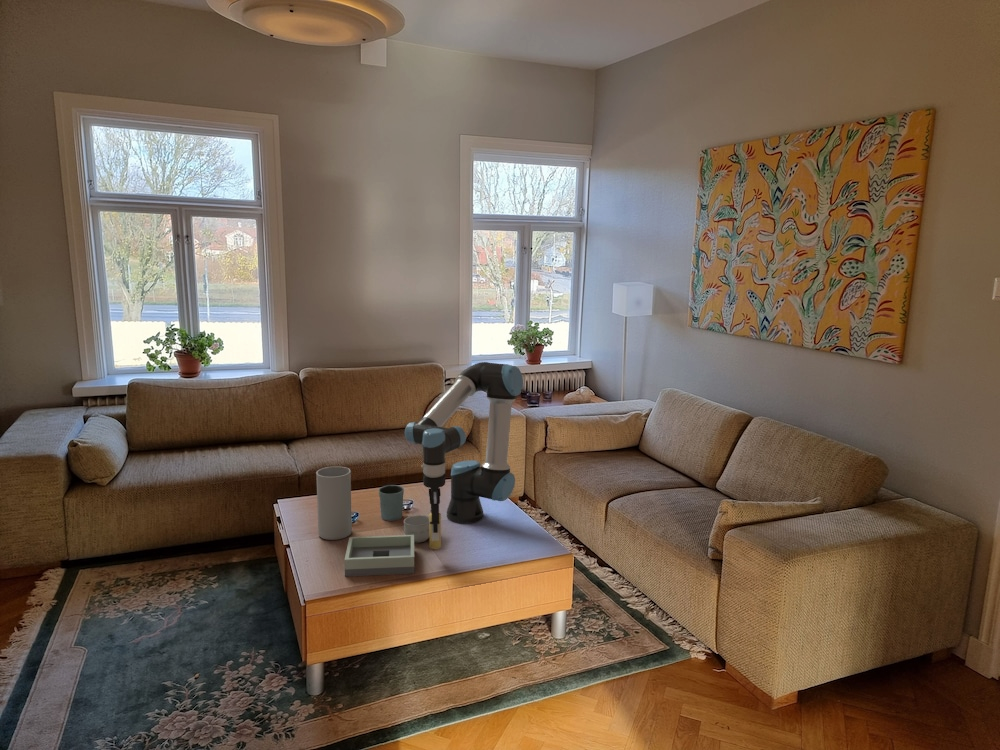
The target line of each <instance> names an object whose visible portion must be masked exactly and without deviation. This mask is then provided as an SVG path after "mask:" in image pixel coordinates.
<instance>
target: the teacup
mask: <svg viewBox="0 0 1000 750" xmlns="http://www.w3.org/2000/svg"><path fill="white" fill-rule="evenodd" d="M403 530H404V535H414V543H422V542H427V540H428V539H429V515H423V514H422V515H421V514H416V515H411V516H408V517H406V518H404V520H403Z"/></svg>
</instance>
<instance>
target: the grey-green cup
mask: <svg viewBox="0 0 1000 750" xmlns="http://www.w3.org/2000/svg"><path fill="white" fill-rule="evenodd" d="M404 491H405V489H404V487H403V486H401V485H397V484H390V485H389V484H388V485H384V486H381V487H380V488H379V489H378V495H379V505H380V506H379V509H380V518H381V519H382V520H383V521H388V522H392V521H398V520H401V519H402V517H403V505H404V493H405V492H404Z"/></svg>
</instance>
